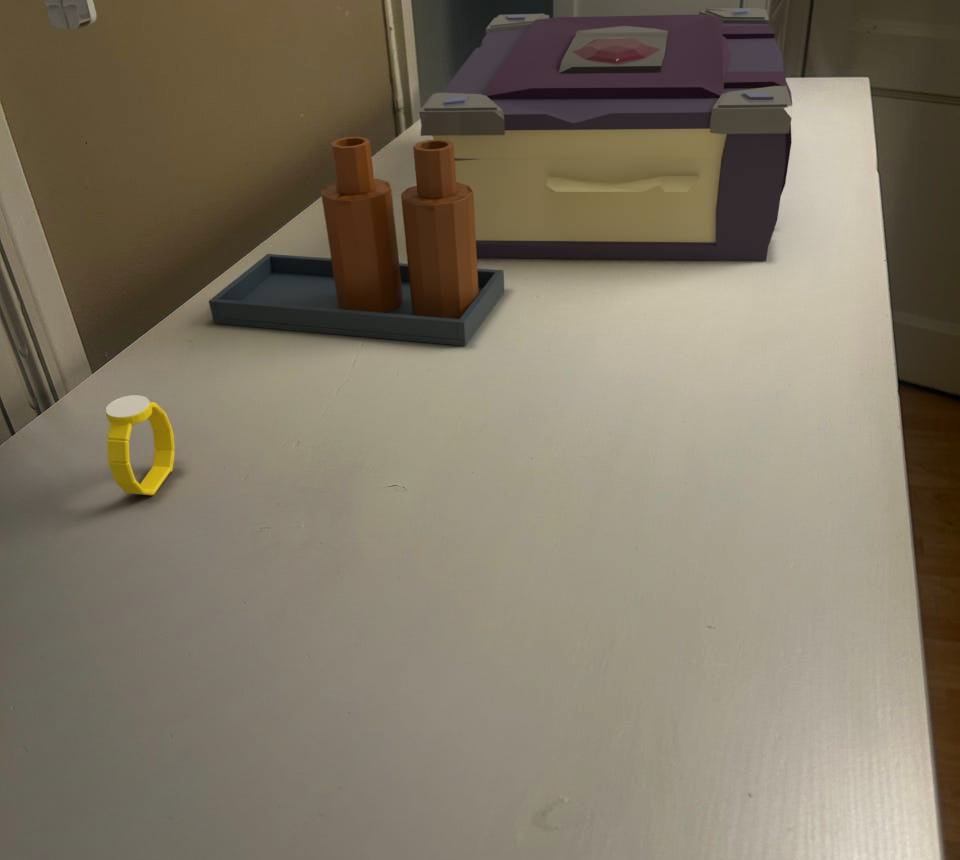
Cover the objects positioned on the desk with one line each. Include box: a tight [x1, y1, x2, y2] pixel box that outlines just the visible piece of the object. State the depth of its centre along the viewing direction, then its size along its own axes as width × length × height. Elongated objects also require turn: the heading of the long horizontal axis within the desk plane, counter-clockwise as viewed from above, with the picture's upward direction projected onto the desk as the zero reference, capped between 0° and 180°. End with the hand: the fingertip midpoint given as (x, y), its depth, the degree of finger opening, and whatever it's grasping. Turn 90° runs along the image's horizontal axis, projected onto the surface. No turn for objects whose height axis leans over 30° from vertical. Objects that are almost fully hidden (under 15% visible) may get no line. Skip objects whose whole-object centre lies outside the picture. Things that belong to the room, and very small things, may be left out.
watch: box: [105, 394, 176, 496], centre depth 64 cm, size 6×3×6 cm, turn 168°
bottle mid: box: [320, 136, 403, 313], centre depth 81 cm, size 6×6×14 cm
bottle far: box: [400, 139, 479, 319], centre depth 80 cm, size 6×6×14 cm
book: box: [418, 7, 793, 262], centre depth 103 cm, size 33×45×14 cm
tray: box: [208, 253, 505, 347], centre depth 86 cm, size 23×11×2 cm, turn 72°
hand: (14, 47), depth 45 cm, fingers open, 8 cm apart
